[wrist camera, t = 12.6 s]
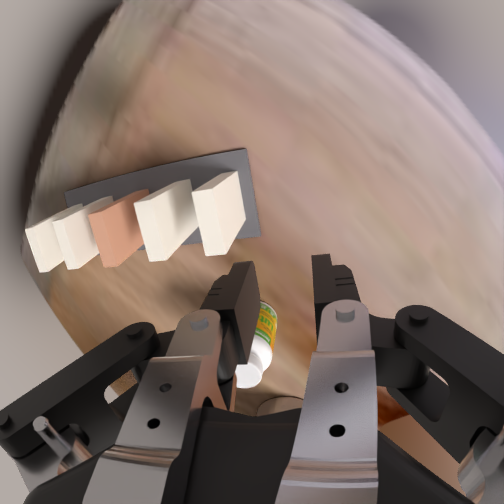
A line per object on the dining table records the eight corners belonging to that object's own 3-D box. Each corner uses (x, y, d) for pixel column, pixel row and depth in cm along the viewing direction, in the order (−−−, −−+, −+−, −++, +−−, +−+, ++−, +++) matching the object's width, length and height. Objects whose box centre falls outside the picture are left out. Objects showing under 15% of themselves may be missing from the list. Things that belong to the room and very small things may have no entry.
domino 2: (112, 195, 32) (62, 219, 24) (123, 235, 34) (78, 268, 26) (101, 198, 33) (52, 222, 24) (112, 237, 34) (68, 269, 26)
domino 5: (237, 170, 29) (212, 188, 21) (245, 219, 31) (225, 254, 23) (221, 173, 30) (191, 192, 21) (230, 220, 31) (205, 256, 23)
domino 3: (148, 188, 31) (101, 211, 23) (158, 231, 33) (117, 266, 25) (136, 191, 32) (87, 214, 23) (146, 233, 33) (104, 267, 25)
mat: (246, 148, 29) (245, 148, 28) (261, 234, 32) (260, 236, 32) (65, 191, 33) (63, 192, 33) (84, 255, 37) (82, 257, 36)
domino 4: (190, 178, 30) (150, 199, 22) (199, 225, 32) (166, 260, 24) (175, 181, 31) (133, 203, 22) (186, 226, 32) (149, 261, 24)
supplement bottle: (283, 306, 35) (277, 364, 26) (269, 340, 37) (259, 398, 28) (239, 292, 35) (219, 346, 26) (228, 327, 37) (208, 382, 28)
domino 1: (82, 203, 33) (32, 227, 25) (92, 240, 35) (48, 271, 27) (73, 205, 34) (24, 229, 25) (84, 242, 35) (39, 272, 27)
